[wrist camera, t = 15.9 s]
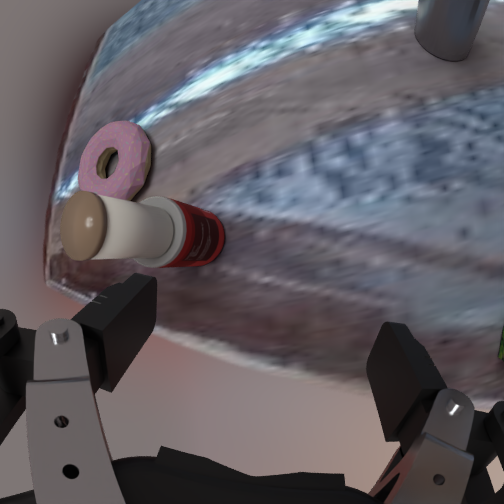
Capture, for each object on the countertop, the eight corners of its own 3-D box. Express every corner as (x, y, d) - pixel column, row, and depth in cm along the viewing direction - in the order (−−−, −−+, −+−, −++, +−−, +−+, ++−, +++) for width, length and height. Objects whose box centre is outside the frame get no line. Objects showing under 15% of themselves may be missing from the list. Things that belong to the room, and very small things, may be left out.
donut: (142, 221, 45) (121, 217, 40) (84, 204, 50) (64, 201, 45) (169, 126, 44) (151, 114, 39) (107, 125, 49) (89, 116, 44)
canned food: (168, 226, 43) (116, 218, 33) (213, 199, 41) (168, 181, 31) (187, 275, 42) (136, 280, 32) (235, 250, 40) (194, 247, 29)
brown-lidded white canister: (133, 208, 32) (61, 196, 22) (173, 202, 30) (101, 184, 21) (133, 259, 32) (60, 261, 22) (174, 258, 30) (100, 259, 20)
